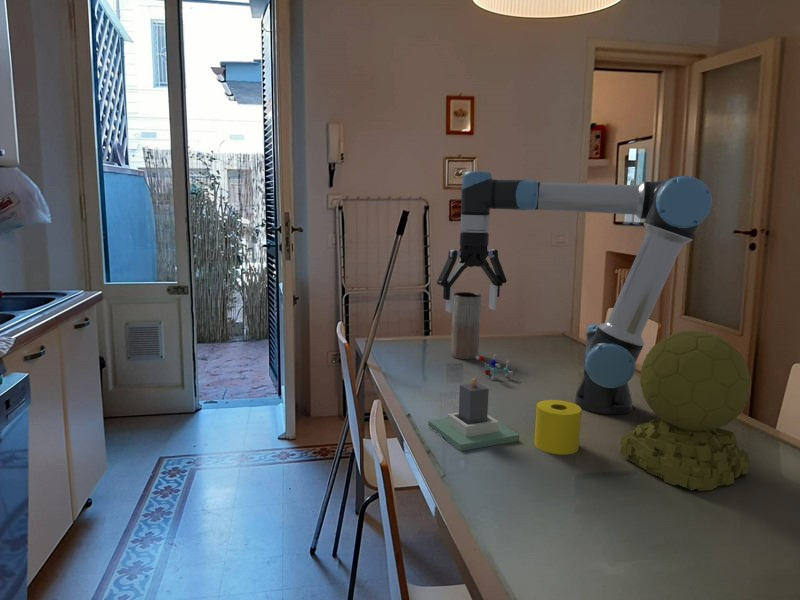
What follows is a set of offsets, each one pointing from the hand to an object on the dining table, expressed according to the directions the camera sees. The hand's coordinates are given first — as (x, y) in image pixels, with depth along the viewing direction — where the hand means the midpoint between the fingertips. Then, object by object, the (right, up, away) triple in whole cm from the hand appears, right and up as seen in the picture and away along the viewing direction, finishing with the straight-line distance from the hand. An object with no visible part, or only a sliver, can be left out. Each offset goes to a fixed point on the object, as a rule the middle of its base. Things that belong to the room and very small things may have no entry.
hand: (471, 310), depth 162 cm
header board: (-2, -30, -15) cm, 33 cm away
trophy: (+43, -34, -31) cm, 62 cm away
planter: (+4, -18, +57) cm, 60 cm away
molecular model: (+11, -22, +30) cm, 39 cm away
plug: (-2, -28, -16) cm, 32 cm away
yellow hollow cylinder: (+17, -31, -21) cm, 42 cm away
